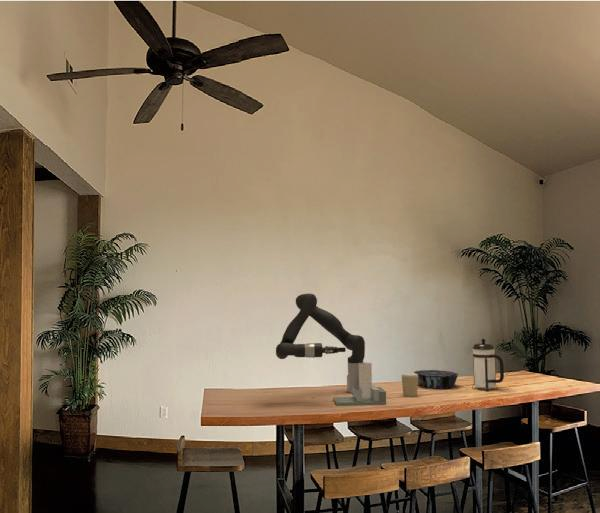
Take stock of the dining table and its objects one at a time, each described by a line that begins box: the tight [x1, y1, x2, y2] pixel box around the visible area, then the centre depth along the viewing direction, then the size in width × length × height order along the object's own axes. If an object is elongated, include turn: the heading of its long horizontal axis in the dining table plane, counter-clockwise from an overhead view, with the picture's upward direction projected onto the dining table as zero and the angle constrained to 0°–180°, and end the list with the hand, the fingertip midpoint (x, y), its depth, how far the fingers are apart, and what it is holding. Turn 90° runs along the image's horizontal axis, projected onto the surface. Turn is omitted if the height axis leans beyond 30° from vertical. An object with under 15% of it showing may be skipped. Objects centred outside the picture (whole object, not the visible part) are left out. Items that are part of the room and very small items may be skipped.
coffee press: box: [471, 338, 505, 392], centre depth 311 cm, size 17×16×30 cm
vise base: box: [332, 384, 387, 407], centre depth 278 cm, size 26×15×8 cm, turn 94°
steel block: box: [359, 362, 373, 400], centre depth 279 cm, size 6×4×19 cm
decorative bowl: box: [413, 369, 459, 390], centre depth 324 cm, size 26×28×10 cm
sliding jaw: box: [352, 386, 362, 402], centre depth 278 cm, size 3×13×6 cm, turn 4°
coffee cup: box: [400, 372, 419, 398], centre depth 294 cm, size 9×9×12 cm
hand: (345, 349), depth 279 cm, fingers closed
